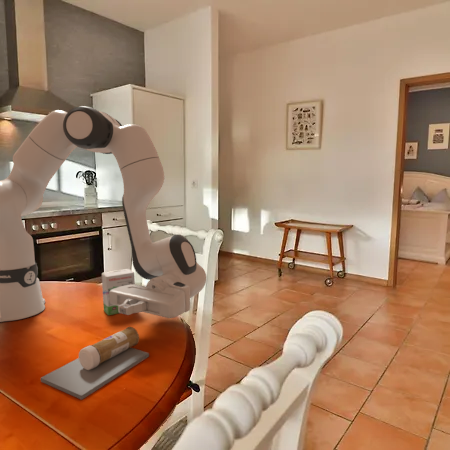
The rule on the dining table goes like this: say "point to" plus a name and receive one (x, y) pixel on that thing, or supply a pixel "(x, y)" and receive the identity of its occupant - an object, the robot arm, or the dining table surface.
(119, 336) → the sprinkles bottle
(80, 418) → the dining table surface
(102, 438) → the dining table surface
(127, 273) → the ink box
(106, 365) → the cutting board
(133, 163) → the robot arm
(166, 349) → the dining table surface
